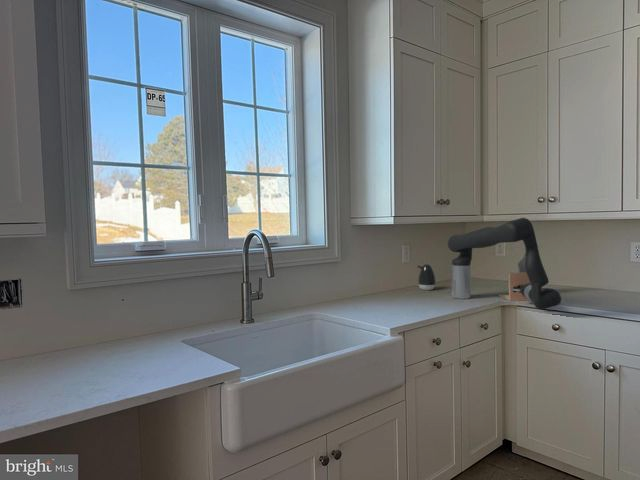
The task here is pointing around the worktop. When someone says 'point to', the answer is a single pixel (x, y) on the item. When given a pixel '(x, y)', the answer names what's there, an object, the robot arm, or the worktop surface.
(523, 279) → the tile
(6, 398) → the worktop surface
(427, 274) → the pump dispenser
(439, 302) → the worktop surface
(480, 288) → the worktop surface
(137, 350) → the worktop surface
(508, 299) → the mat
